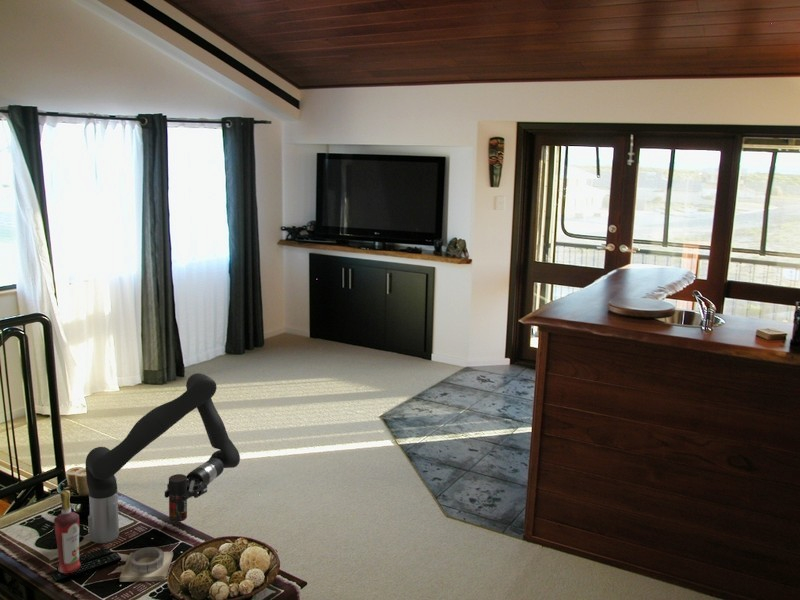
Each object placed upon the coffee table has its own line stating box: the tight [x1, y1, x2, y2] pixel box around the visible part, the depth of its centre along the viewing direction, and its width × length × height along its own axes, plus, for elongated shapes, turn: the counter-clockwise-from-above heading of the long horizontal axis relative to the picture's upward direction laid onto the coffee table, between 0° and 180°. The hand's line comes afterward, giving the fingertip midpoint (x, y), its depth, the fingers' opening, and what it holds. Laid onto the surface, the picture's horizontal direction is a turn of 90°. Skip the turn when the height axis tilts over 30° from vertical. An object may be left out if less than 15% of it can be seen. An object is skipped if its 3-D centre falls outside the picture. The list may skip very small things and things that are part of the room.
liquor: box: [53, 489, 82, 575], centre depth 225 cm, size 7×7×28 cm
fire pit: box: [119, 546, 174, 583], centre depth 231 cm, size 14×14×5 cm
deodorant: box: [168, 473, 188, 523], centre depth 241 cm, size 6×6×15 cm
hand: (173, 497), depth 238 cm, fingers closed on deodorant, 6 cm apart
